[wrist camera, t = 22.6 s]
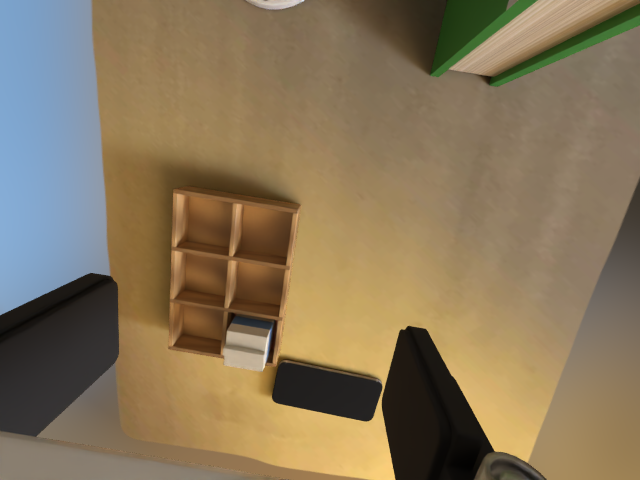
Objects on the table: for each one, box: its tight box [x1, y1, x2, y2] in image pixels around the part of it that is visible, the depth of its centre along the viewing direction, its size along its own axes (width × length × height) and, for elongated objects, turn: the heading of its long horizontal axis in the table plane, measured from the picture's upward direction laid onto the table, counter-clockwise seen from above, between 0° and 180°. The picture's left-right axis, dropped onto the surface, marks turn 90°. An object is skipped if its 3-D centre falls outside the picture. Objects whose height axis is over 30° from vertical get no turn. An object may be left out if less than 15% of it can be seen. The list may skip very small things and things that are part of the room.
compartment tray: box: [168, 186, 301, 367], centre depth 38 cm, size 21×14×4 cm
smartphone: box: [272, 360, 382, 421], centre depth 44 cm, size 7×1×15 cm
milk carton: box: [223, 314, 275, 372], centre depth 38 cm, size 5×5×6 cm
